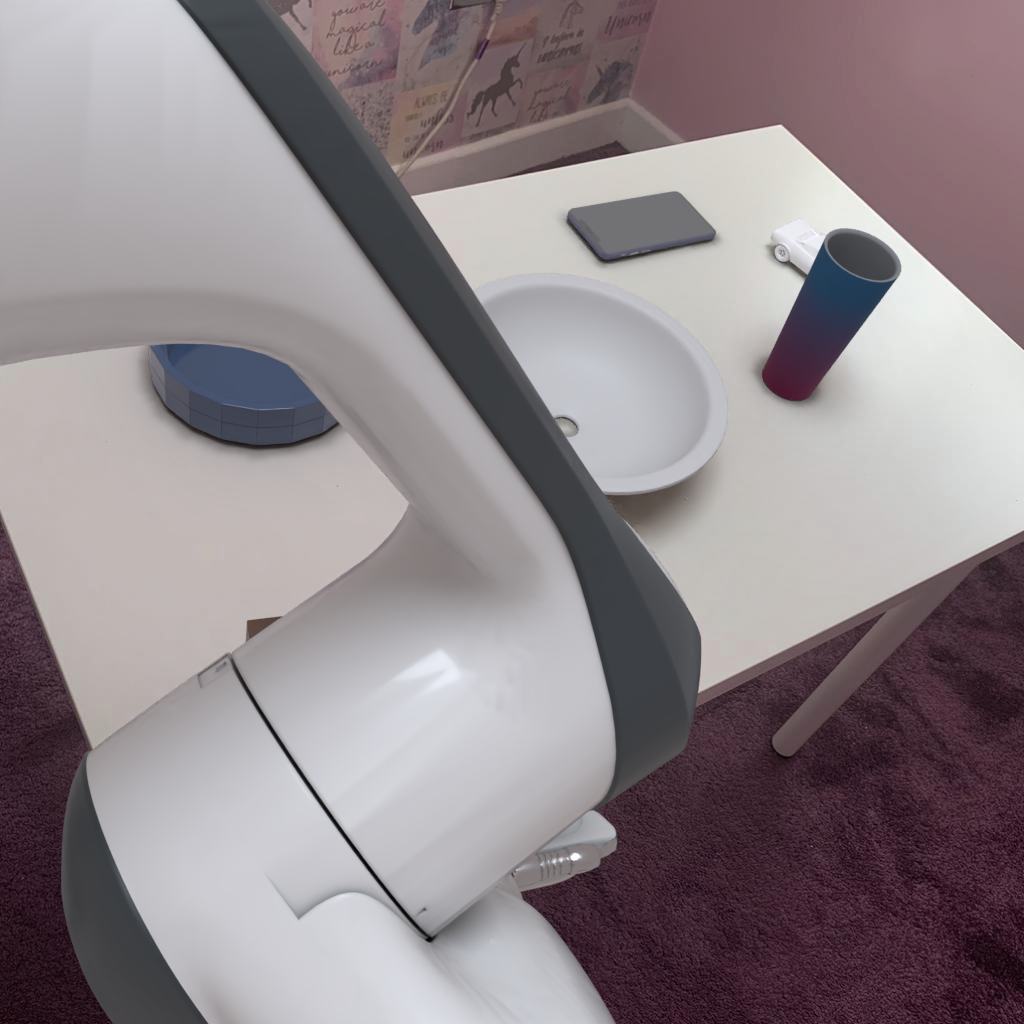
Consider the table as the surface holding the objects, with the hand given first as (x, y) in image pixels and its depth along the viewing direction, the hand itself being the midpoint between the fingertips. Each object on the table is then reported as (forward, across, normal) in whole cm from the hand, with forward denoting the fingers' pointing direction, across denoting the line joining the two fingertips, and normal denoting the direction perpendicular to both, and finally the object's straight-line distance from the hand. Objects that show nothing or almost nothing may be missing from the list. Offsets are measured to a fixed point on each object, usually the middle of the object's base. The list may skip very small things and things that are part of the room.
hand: (319, 773), depth 52 cm
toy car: (+45, -62, -27) cm, 81 cm away
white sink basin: (+32, -27, -14) cm, 44 cm away
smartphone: (+50, -44, -32) cm, 74 cm away
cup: (+35, -51, -16) cm, 64 cm away
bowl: (+37, -3, -19) cm, 42 cm away
